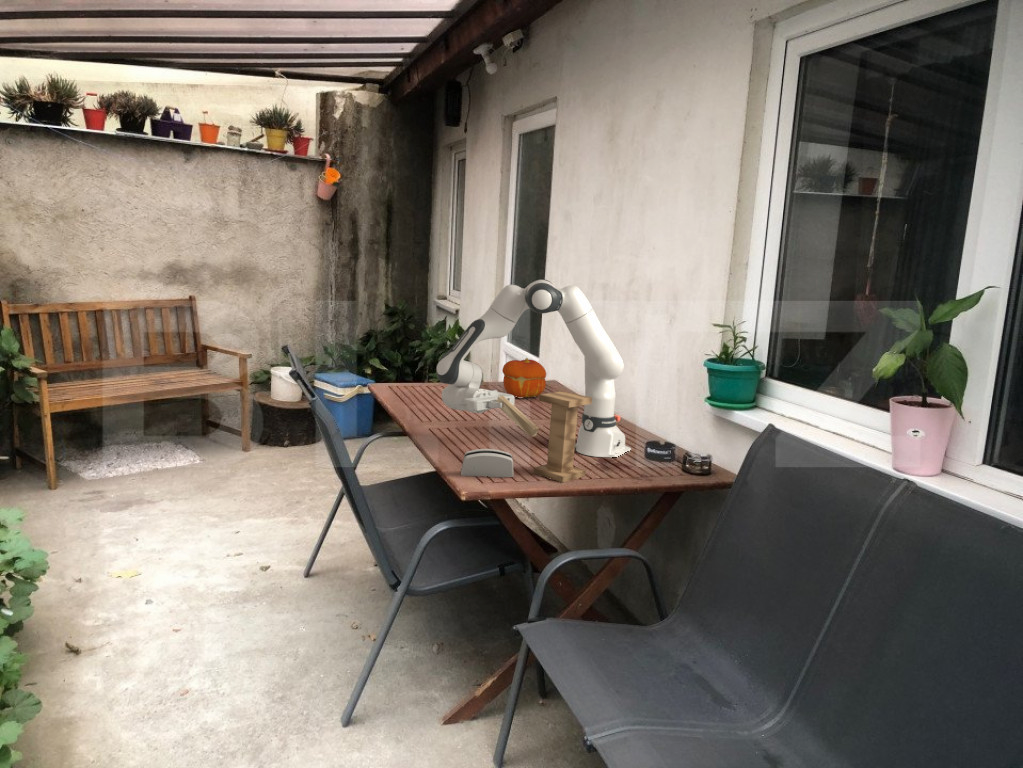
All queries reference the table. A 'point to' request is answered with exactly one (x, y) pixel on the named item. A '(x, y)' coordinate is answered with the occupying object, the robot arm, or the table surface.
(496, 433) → the table surface
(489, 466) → the grey arched block
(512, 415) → the batten
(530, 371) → the pumpkin
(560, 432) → the stand
